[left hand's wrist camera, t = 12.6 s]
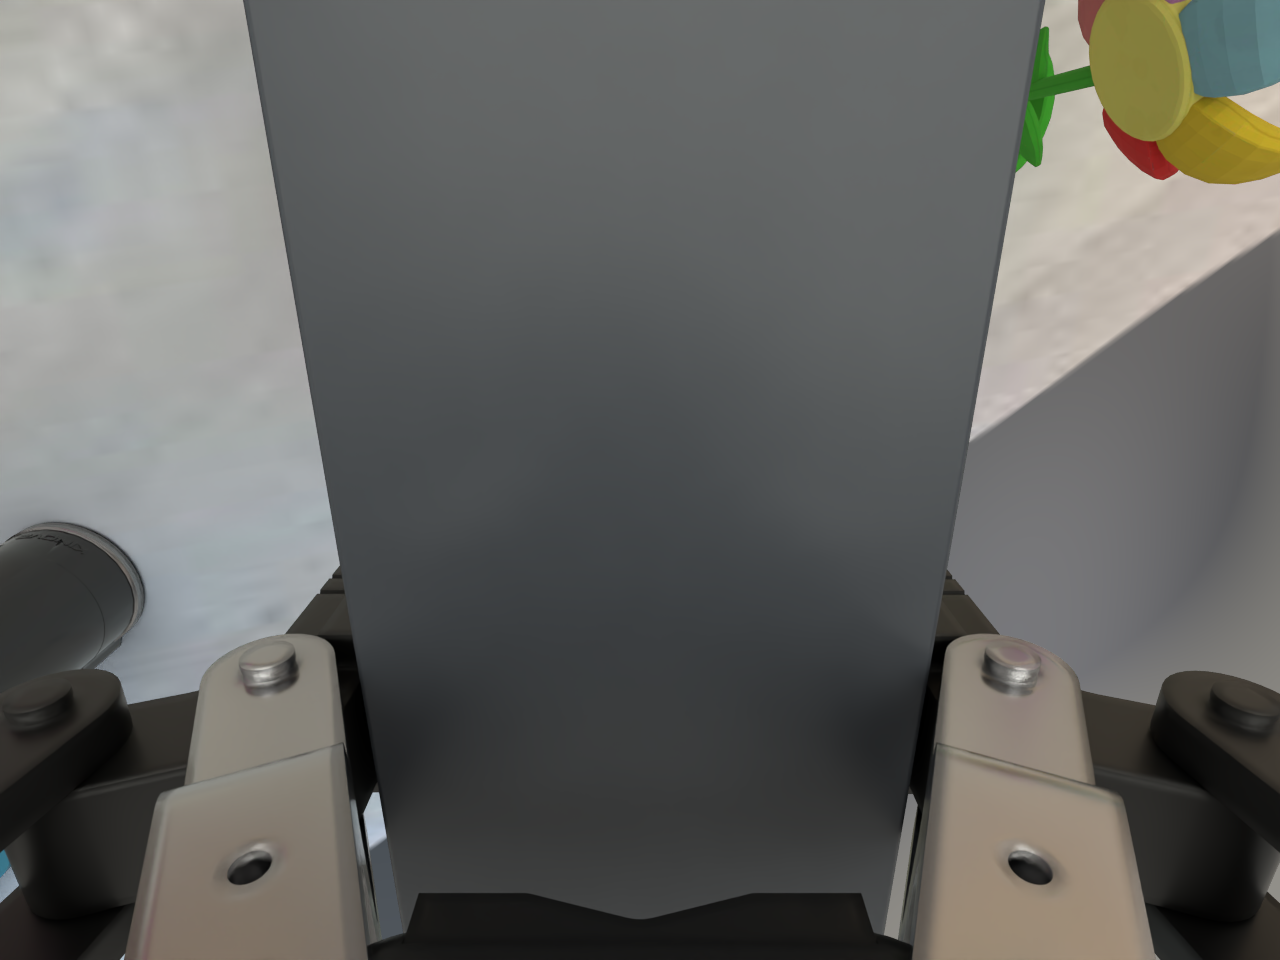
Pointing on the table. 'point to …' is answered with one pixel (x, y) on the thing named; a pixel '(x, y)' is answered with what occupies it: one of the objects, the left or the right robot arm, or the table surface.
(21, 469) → the table surface
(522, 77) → the box
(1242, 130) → the potted flower
